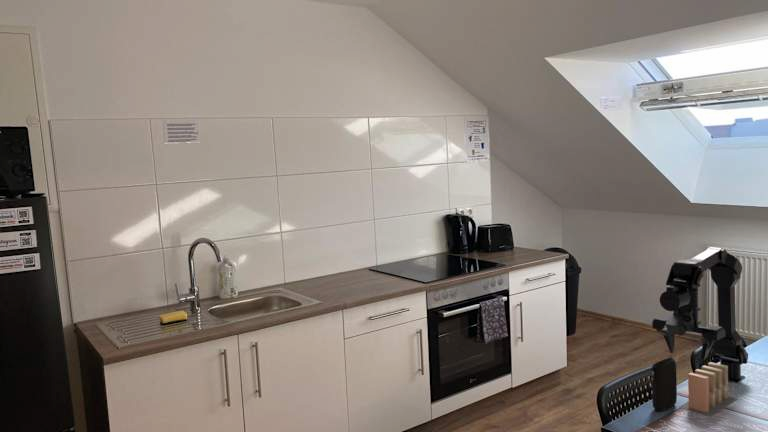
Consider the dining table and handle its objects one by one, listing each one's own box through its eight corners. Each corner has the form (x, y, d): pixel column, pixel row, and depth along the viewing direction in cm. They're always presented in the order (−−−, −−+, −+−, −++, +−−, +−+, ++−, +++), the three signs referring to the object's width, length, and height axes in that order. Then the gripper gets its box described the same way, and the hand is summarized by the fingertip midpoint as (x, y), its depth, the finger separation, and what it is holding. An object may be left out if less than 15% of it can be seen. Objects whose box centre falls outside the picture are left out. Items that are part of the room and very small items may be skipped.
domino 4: (710, 393, 181) (710, 362, 180) (728, 398, 177) (727, 366, 176) (708, 395, 180) (707, 363, 179) (725, 400, 176) (725, 367, 175)
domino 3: (704, 397, 178) (703, 365, 177) (721, 402, 174) (721, 369, 173) (701, 399, 177) (701, 366, 176) (719, 404, 173) (719, 371, 172)
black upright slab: (657, 416, 169) (656, 366, 168) (647, 412, 172) (646, 363, 170) (679, 406, 175) (678, 357, 173) (669, 402, 177) (668, 354, 176)
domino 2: (697, 401, 176) (697, 368, 175) (715, 406, 172) (715, 373, 171) (695, 403, 175) (694, 370, 174) (713, 408, 171) (712, 374, 170)
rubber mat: (706, 391, 183) (706, 390, 183) (737, 400, 176) (737, 398, 176) (678, 408, 173) (678, 407, 173) (711, 418, 166) (711, 416, 166)
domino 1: (691, 405, 174) (690, 372, 173) (709, 410, 170) (708, 376, 169) (688, 407, 173) (688, 374, 172) (706, 412, 169) (706, 378, 168)
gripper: (641, 304, 175) (642, 355, 176) (707, 315, 160) (707, 371, 162) (661, 297, 182) (661, 346, 183) (726, 307, 167) (726, 361, 168)
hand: (687, 356), depth 174 cm, fingers open, 9 cm apart
